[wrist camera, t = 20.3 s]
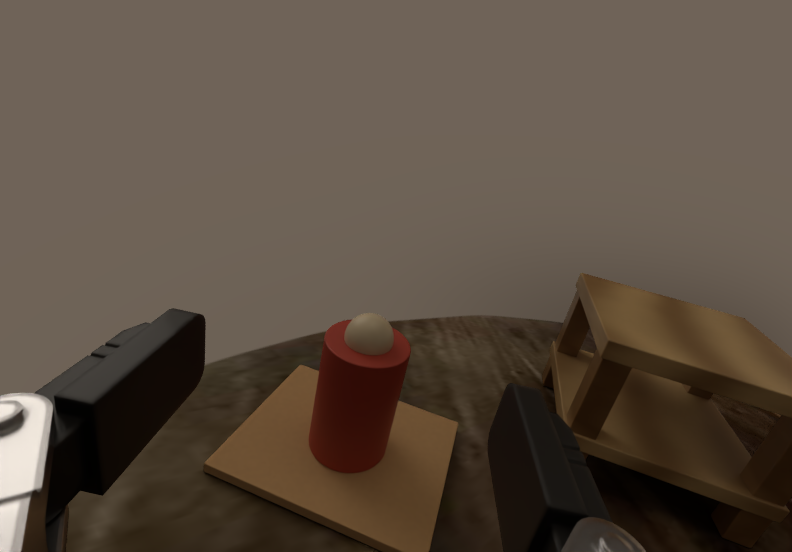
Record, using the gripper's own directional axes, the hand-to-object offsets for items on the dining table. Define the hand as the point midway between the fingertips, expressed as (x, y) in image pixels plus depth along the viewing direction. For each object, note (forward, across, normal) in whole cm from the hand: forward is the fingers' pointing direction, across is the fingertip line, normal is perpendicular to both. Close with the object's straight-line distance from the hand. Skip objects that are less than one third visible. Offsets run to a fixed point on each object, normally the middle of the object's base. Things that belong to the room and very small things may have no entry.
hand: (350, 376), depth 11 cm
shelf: (+16, -20, +13) cm, 28 cm away
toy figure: (+10, 0, +12) cm, 15 cm away
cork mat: (+10, 0, +12) cm, 16 cm away
